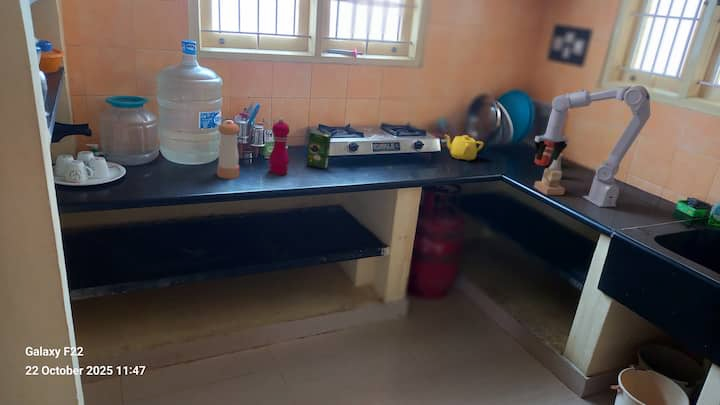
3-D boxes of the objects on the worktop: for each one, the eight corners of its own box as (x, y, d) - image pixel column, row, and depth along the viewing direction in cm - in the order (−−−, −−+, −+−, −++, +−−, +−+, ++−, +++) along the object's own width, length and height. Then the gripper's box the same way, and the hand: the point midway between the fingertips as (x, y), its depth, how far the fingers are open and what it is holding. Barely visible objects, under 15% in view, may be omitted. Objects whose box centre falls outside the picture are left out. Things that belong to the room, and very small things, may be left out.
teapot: (462, 164, 222) (466, 141, 218) (440, 155, 231) (444, 132, 227) (481, 160, 231) (486, 138, 227) (459, 151, 239) (464, 130, 235)
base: (563, 194, 200) (565, 188, 199) (546, 195, 198) (548, 188, 197) (550, 186, 207) (552, 181, 206) (533, 187, 204) (535, 181, 203)
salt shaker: (238, 171, 183) (239, 118, 176) (240, 178, 177) (241, 124, 170) (216, 171, 181) (217, 117, 173) (218, 178, 175) (218, 123, 167)
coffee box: (328, 167, 198) (331, 134, 193) (325, 169, 196) (328, 136, 190) (309, 163, 200) (312, 130, 195) (306, 165, 198) (308, 132, 193)
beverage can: (546, 163, 238) (552, 138, 234) (549, 167, 232) (556, 142, 228) (532, 161, 239) (539, 136, 234) (535, 165, 233) (542, 140, 228)
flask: (562, 180, 217) (569, 157, 213) (545, 177, 218) (551, 155, 214) (560, 175, 224) (566, 153, 220) (543, 172, 225) (549, 150, 221)
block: (558, 186, 200) (562, 172, 198) (548, 186, 199) (552, 172, 197) (550, 182, 204) (554, 168, 202) (541, 182, 203) (545, 168, 200)
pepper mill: (264, 171, 186) (266, 117, 178) (276, 167, 192) (279, 114, 184) (280, 176, 183) (283, 121, 175) (292, 172, 189) (296, 118, 181)
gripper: (563, 123, 206) (554, 156, 211) (533, 122, 201) (525, 155, 206) (575, 128, 199) (566, 162, 205) (545, 127, 195) (536, 161, 200)
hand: (546, 159), depth 205 cm, fingers open, 7 cm apart
